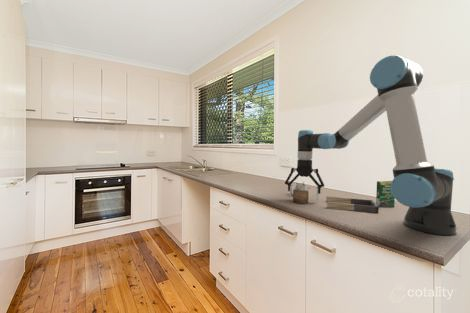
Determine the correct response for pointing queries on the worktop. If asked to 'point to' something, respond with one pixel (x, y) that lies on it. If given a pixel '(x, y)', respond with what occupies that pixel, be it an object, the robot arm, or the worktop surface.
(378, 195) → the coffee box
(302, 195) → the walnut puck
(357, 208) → the channel
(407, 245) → the worktop surface
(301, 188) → the grey succulent plant
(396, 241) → the worktop surface
